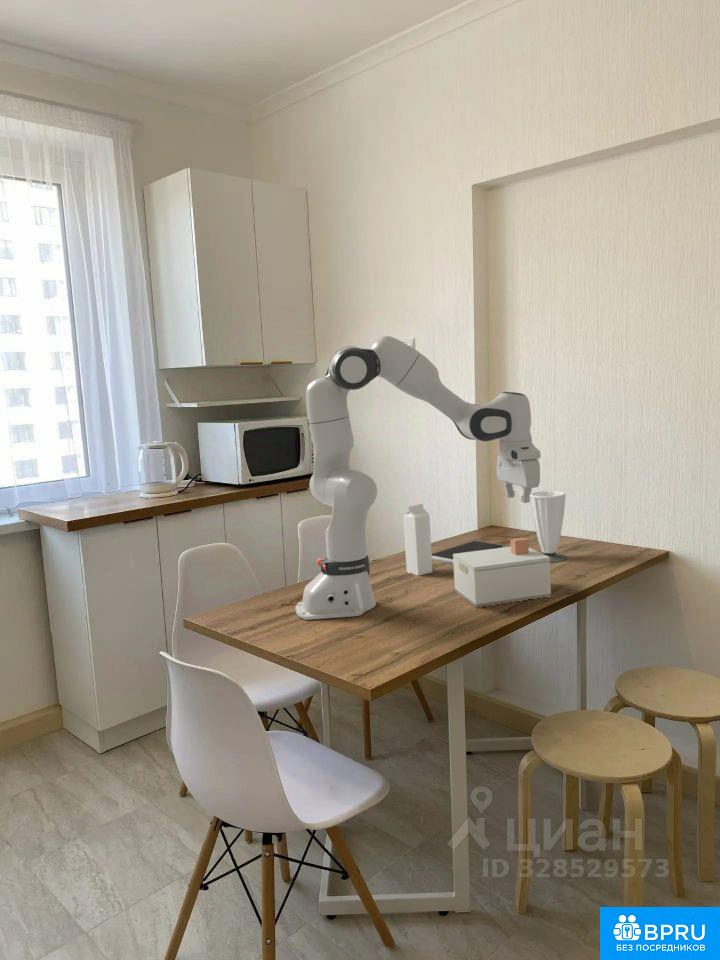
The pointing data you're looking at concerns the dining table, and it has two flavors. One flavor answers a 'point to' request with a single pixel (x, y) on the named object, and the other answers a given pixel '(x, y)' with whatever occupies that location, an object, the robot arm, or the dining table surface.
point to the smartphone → (463, 550)
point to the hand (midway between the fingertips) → (517, 499)
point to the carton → (502, 583)
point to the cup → (548, 521)
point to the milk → (417, 540)
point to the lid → (502, 556)
